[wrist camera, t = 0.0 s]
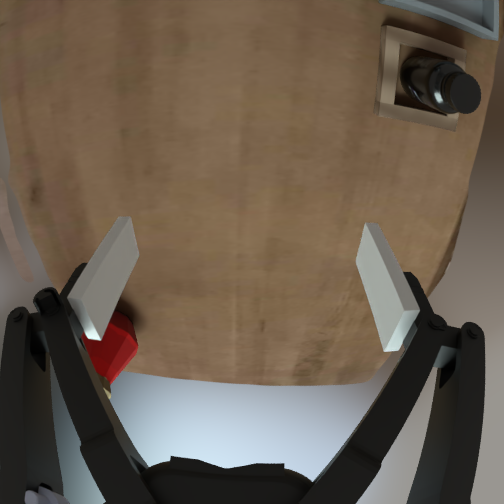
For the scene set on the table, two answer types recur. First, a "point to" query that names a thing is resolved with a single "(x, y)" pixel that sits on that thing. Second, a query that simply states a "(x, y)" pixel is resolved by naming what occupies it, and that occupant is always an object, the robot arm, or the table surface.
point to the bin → (458, 14)
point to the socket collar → (388, 77)
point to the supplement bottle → (440, 85)
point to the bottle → (112, 349)
